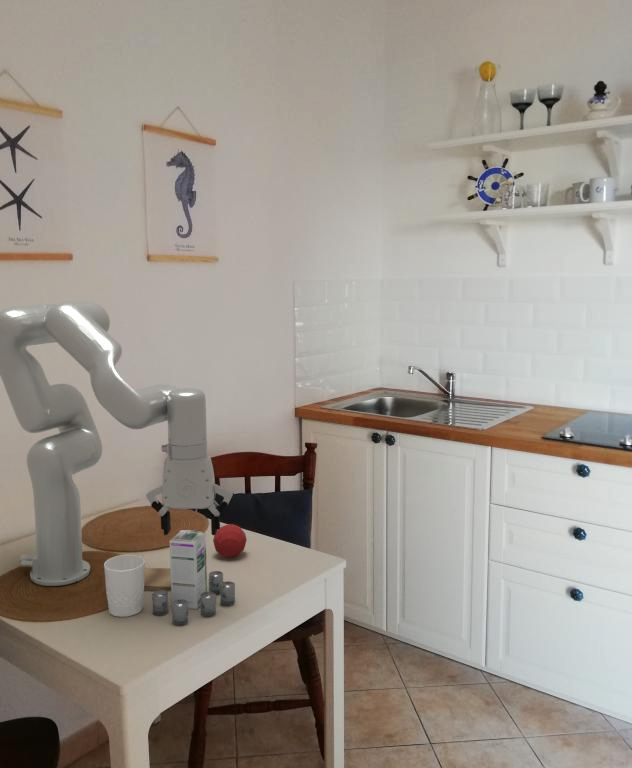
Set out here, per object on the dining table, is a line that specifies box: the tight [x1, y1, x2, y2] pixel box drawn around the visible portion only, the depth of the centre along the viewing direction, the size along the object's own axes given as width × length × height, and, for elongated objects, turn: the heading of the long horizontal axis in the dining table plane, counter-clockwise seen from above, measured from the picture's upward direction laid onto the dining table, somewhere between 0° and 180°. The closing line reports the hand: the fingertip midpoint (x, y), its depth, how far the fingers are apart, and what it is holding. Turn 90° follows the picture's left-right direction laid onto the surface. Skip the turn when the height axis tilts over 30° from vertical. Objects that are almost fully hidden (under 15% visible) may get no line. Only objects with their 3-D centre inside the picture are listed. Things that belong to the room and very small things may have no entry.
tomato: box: [212, 524, 247, 558], centre depth 170 cm, size 8×8×8 cm
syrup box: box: [169, 529, 208, 610], centre depth 145 cm, size 6×6×14 cm
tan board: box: [144, 567, 171, 592], centre depth 156 cm, size 11×9×1 cm
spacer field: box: [151, 570, 236, 627], centre depth 146 cm, size 16×20×4 cm
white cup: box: [103, 554, 146, 618], centre depth 142 cm, size 8×8×10 cm
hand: (190, 532), depth 144 cm, fingers open, 9 cm apart
